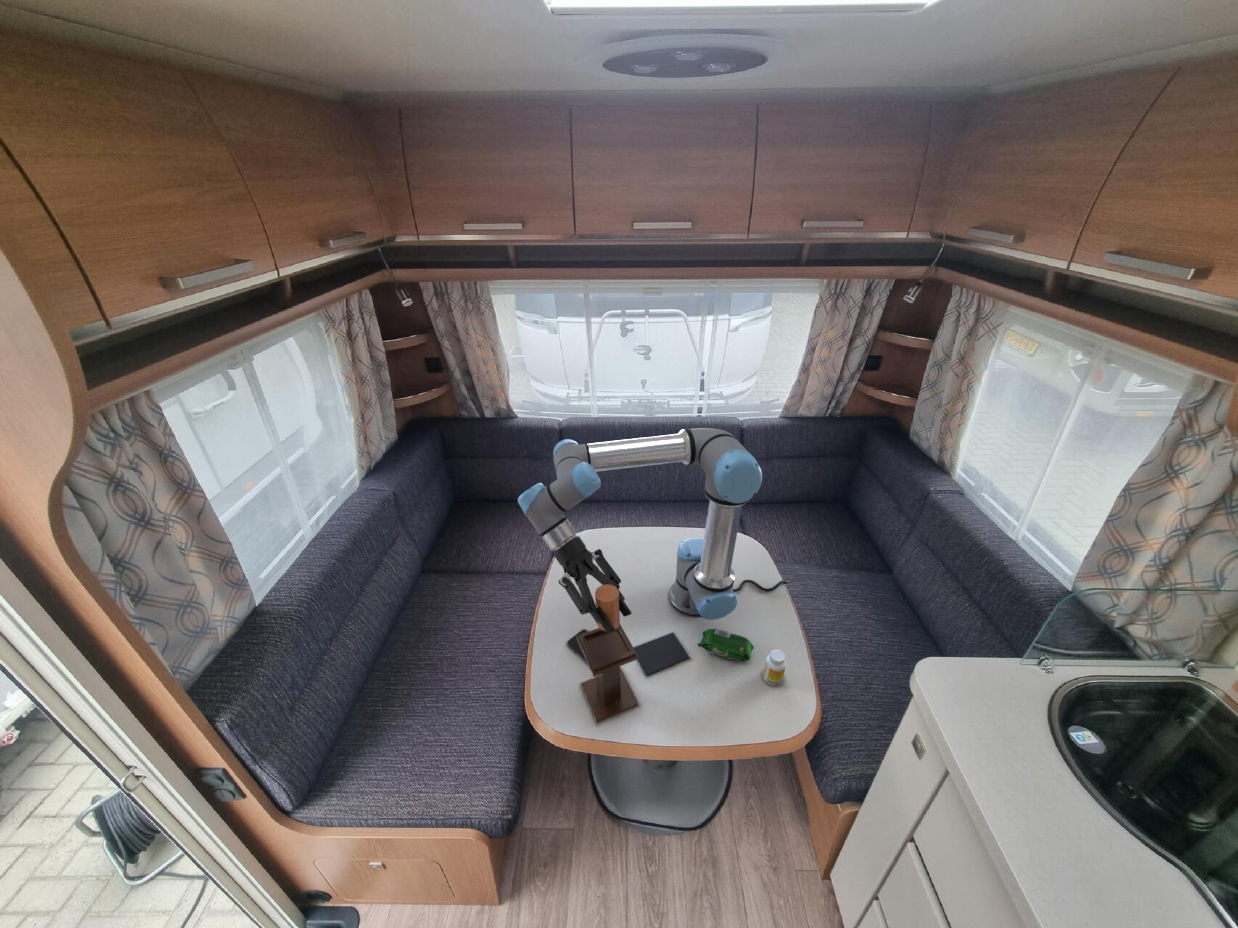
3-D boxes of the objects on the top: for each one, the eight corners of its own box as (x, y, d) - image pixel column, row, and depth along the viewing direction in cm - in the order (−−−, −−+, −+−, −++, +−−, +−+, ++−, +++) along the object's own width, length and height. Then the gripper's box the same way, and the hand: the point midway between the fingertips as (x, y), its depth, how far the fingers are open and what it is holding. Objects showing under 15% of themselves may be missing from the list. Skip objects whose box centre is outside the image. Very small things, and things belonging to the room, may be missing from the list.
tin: (614, 610, 123) (613, 581, 117) (623, 626, 118) (622, 597, 113) (593, 618, 121) (591, 588, 116) (602, 634, 116) (600, 604, 111)
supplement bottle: (758, 673, 138) (763, 651, 133) (773, 666, 140) (778, 644, 135) (771, 689, 134) (776, 666, 129) (786, 681, 136) (792, 658, 131)
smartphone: (565, 644, 148) (601, 676, 138) (565, 642, 148) (601, 674, 138) (584, 629, 153) (621, 659, 143) (584, 627, 152) (621, 657, 143)
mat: (672, 633, 151) (673, 632, 151) (689, 658, 143) (689, 657, 143) (631, 649, 146) (631, 647, 146) (646, 676, 138) (646, 674, 138)
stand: (620, 669, 140) (618, 618, 129) (638, 705, 131) (638, 653, 120) (581, 685, 136) (576, 634, 125) (596, 723, 127) (593, 671, 116)
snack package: (701, 634, 150) (702, 622, 148) (753, 648, 145) (755, 637, 143) (696, 652, 145) (697, 640, 142) (750, 668, 140) (752, 656, 137)
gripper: (583, 528, 126) (634, 602, 125) (529, 568, 113) (586, 650, 113) (597, 519, 120) (651, 596, 120) (543, 560, 108) (603, 647, 107)
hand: (619, 622), depth 116 cm, fingers closed on tin, 6 cm apart
